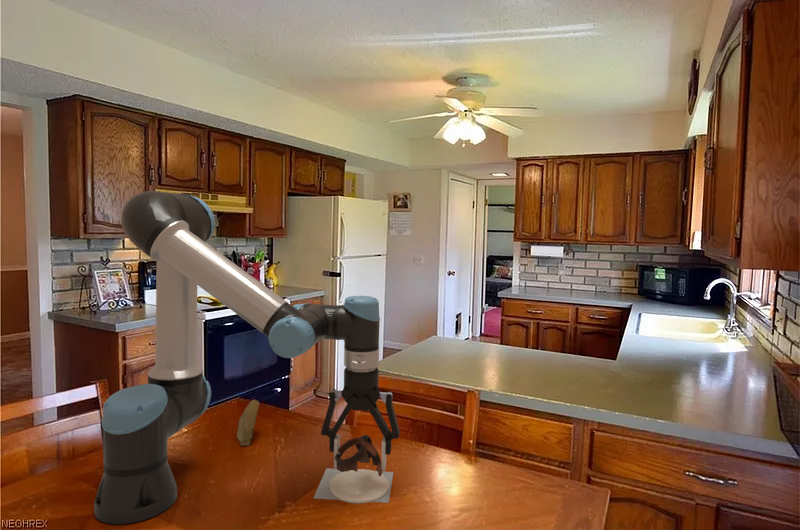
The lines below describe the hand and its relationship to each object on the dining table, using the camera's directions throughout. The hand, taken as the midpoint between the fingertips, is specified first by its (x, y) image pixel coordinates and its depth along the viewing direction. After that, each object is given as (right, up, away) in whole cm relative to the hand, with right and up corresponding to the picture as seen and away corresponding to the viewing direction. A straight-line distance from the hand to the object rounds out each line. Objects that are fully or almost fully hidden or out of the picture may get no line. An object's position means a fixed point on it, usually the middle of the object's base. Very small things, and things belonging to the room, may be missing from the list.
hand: (360, 466), depth 109 cm
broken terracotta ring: (0, -1, 0) cm, 1 cm away
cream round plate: (0, -5, 0) cm, 5 cm away
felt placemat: (-1, -5, +2) cm, 6 cm away
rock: (-34, -3, +26) cm, 42 cm away
